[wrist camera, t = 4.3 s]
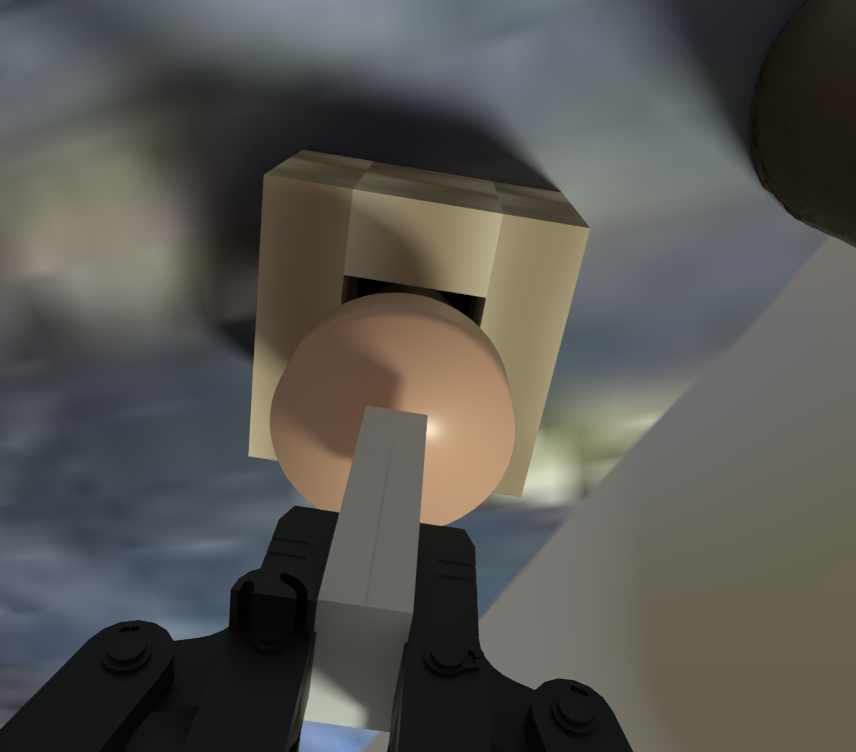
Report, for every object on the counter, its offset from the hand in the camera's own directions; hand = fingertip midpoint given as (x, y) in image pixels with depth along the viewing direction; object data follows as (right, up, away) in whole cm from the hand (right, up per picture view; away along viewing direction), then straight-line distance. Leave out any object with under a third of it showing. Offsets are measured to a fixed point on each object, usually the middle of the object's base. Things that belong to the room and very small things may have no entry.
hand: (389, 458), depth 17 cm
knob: (0, +4, +8) cm, 9 cm away
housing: (0, +5, +11) cm, 13 cm away
